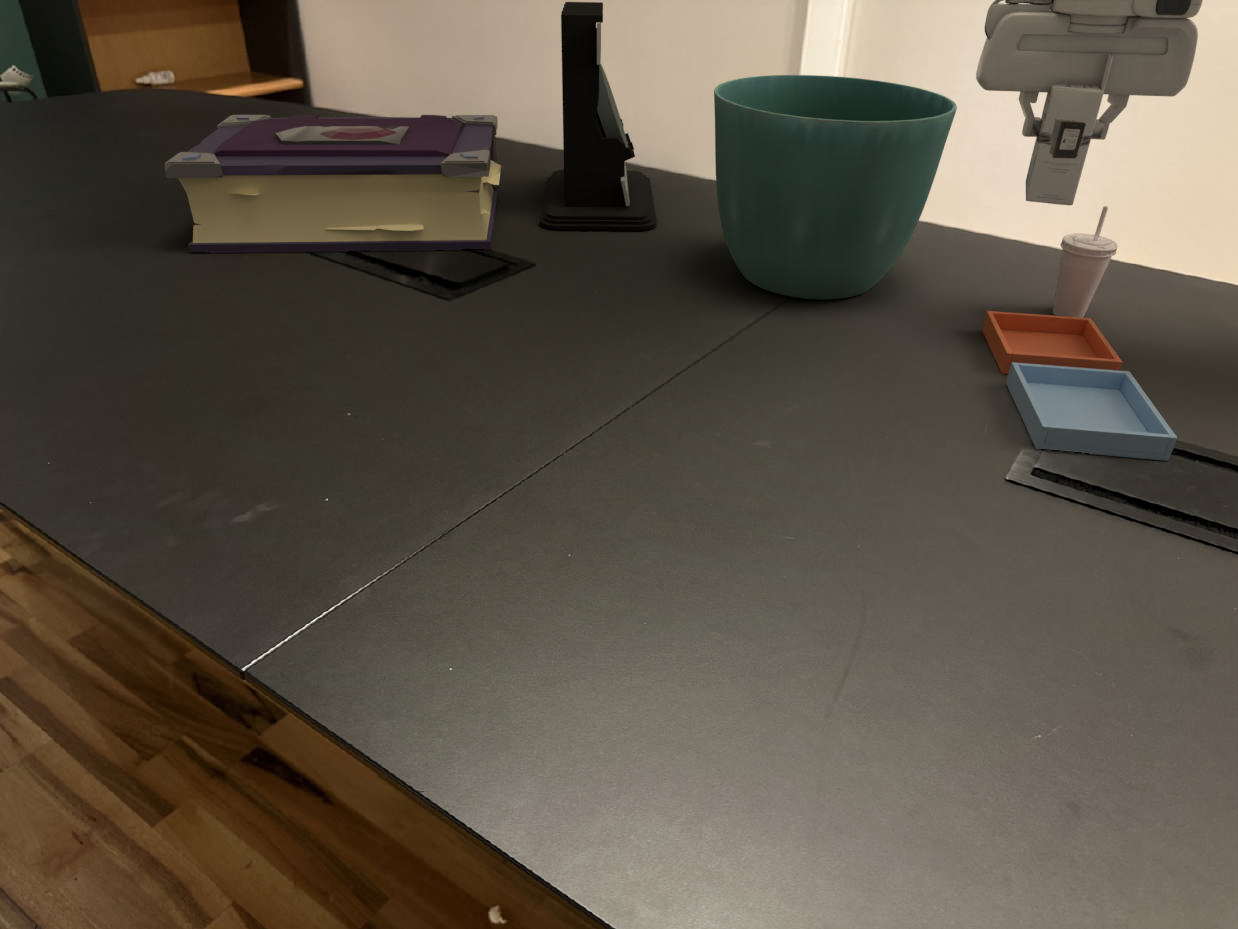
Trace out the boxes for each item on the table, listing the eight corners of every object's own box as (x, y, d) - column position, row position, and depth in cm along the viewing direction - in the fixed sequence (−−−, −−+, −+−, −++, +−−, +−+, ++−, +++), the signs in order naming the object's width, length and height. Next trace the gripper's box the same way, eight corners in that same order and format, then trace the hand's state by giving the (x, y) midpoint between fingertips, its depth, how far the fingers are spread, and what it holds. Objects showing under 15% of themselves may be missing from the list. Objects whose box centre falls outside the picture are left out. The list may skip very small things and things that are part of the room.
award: (657, 231, 142) (665, 21, 126) (538, 230, 141) (531, 19, 125) (649, 179, 168) (654, -2, 151) (548, 178, 167) (543, -3, 151)
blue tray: (1121, 392, 98) (1129, 371, 97) (1168, 461, 86) (1177, 437, 85) (1005, 383, 99) (1011, 362, 98) (1035, 449, 88) (1043, 426, 86)
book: (247, 190, 158) (230, 105, 150) (505, 188, 161) (500, 105, 154) (185, 254, 130) (160, 154, 122) (498, 250, 133) (492, 153, 126)
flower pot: (908, 249, 136) (941, 79, 123) (930, 329, 112) (975, 126, 99) (711, 235, 141) (723, 69, 128) (690, 309, 116) (703, 112, 103)
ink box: (1024, 182, 104) (1058, 42, 96) (1070, 186, 103) (1108, 45, 95) (1024, 202, 98) (1060, 54, 90) (1073, 206, 96) (1114, 56, 88)
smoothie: (1097, 327, 113) (1133, 216, 105) (1042, 319, 115) (1074, 210, 107) (1092, 308, 118) (1126, 201, 110) (1040, 301, 120) (1070, 196, 112)
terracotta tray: (1084, 337, 110) (1091, 318, 109) (1115, 383, 100) (1122, 361, 99) (981, 330, 112) (986, 310, 110) (1001, 374, 101) (1007, 353, 100)
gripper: (997, -7, 88) (967, 139, 96) (1221, -3, 85) (1173, 147, 93) (986, -12, 94) (958, 126, 101) (1197, -9, 91) (1152, 134, 98)
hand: (1063, 137), depth 97 cm, fingers closed on ink box, 5 cm apart
